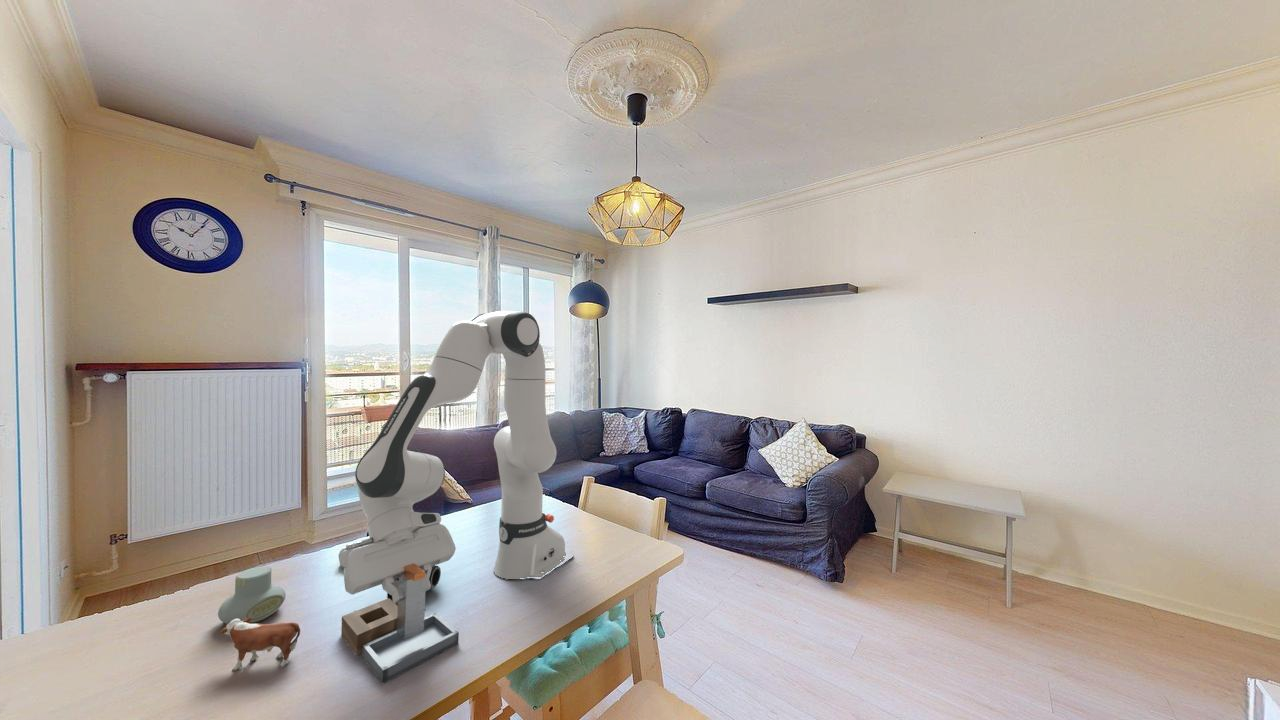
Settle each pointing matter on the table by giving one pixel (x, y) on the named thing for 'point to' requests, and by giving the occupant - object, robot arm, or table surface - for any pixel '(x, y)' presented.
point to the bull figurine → (261, 638)
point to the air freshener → (252, 597)
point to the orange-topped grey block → (411, 602)
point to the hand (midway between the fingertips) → (413, 595)
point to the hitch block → (369, 624)
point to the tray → (409, 648)
